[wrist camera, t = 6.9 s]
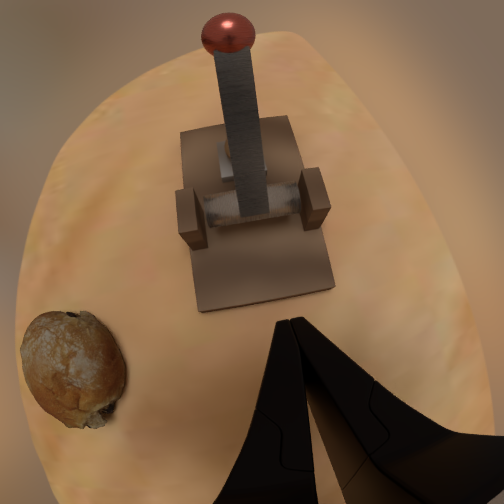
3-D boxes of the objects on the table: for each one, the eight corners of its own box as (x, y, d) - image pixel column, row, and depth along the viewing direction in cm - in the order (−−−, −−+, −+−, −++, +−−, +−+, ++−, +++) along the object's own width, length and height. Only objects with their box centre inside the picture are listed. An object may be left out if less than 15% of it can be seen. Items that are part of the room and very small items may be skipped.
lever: (305, 226, 18) (288, 4, 10) (210, 243, 18) (163, 20, 9) (284, 186, 23) (266, 20, 14) (210, 199, 22) (177, 32, 14)
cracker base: (330, 289, 22) (352, 276, 16) (202, 312, 21) (184, 307, 16) (286, 125, 26) (290, 84, 20) (183, 141, 26) (169, 103, 20)
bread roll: (142, 332, 25) (102, 283, 18) (137, 440, 18) (81, 425, 12) (63, 333, 24) (17, 290, 18) (50, 424, 18) (-9, 399, 12)
